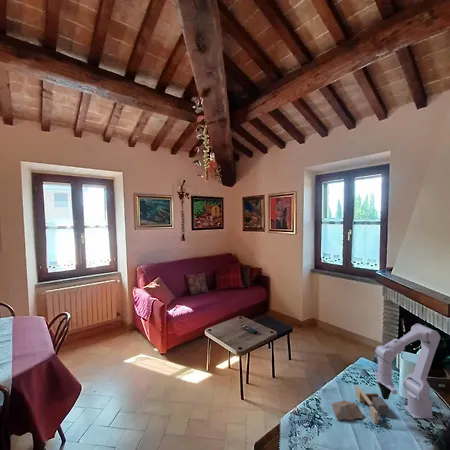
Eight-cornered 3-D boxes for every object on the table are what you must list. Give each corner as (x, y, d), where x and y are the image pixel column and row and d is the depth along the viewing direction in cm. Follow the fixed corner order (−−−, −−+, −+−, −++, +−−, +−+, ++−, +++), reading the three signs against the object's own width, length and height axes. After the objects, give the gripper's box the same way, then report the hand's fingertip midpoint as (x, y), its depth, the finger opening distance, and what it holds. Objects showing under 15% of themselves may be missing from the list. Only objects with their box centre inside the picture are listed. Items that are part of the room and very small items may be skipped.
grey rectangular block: (380, 406, 130) (380, 396, 130) (387, 415, 124) (387, 405, 124) (372, 406, 130) (371, 396, 130) (378, 415, 124) (378, 405, 124)
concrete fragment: (365, 421, 121) (364, 409, 121) (336, 421, 121) (336, 409, 121) (357, 410, 128) (357, 398, 128) (330, 410, 128) (330, 399, 128)
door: (362, 402, 133) (362, 393, 132) (377, 402, 132) (377, 393, 132) (364, 406, 130) (364, 396, 130) (380, 405, 130) (379, 396, 130)
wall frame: (358, 395, 138) (358, 384, 138) (378, 423, 119) (377, 410, 119) (355, 395, 138) (355, 384, 138) (375, 423, 119) (374, 410, 119)
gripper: (368, 363, 129) (369, 388, 129) (385, 381, 115) (386, 409, 115) (382, 362, 129) (382, 388, 129) (401, 380, 114) (401, 409, 115)
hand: (385, 398), depth 122 cm, fingers closed
